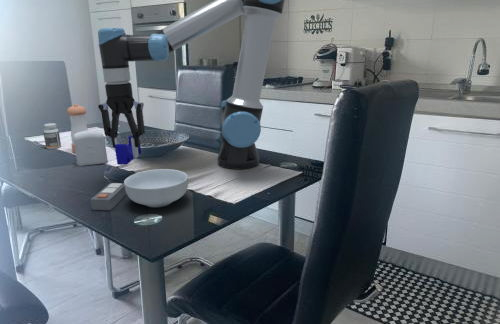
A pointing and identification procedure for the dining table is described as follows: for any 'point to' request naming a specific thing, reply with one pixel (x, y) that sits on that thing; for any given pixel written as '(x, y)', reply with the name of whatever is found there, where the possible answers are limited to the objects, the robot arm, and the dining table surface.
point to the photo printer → (90, 147)
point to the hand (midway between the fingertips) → (128, 157)
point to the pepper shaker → (77, 121)
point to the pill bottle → (51, 136)
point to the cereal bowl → (156, 187)
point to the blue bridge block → (125, 153)
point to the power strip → (108, 197)
